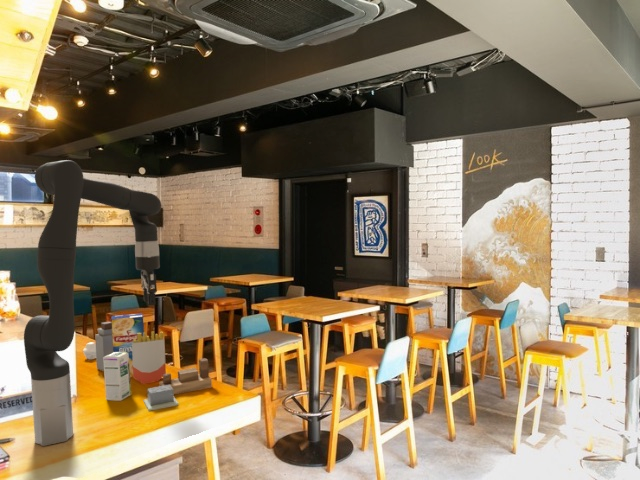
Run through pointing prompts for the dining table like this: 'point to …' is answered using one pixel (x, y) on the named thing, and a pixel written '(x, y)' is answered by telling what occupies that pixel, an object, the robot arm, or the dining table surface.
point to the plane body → (189, 379)
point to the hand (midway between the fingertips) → (149, 303)
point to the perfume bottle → (103, 343)
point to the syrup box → (117, 376)
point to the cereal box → (126, 333)
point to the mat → (160, 405)
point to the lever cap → (160, 395)
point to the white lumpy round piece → (90, 350)
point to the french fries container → (148, 358)
